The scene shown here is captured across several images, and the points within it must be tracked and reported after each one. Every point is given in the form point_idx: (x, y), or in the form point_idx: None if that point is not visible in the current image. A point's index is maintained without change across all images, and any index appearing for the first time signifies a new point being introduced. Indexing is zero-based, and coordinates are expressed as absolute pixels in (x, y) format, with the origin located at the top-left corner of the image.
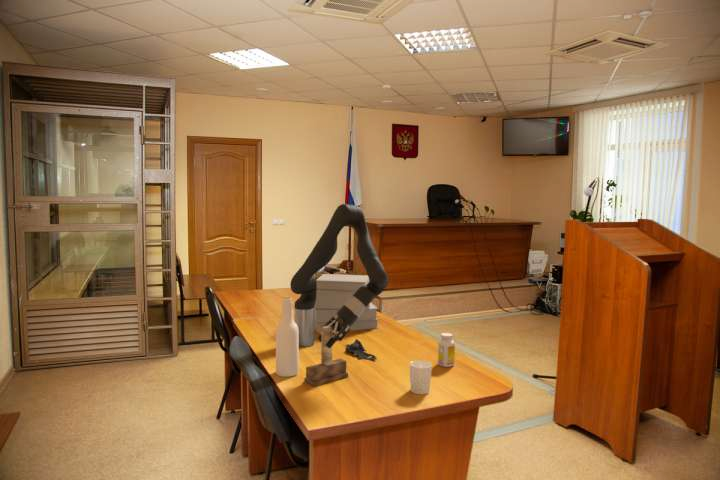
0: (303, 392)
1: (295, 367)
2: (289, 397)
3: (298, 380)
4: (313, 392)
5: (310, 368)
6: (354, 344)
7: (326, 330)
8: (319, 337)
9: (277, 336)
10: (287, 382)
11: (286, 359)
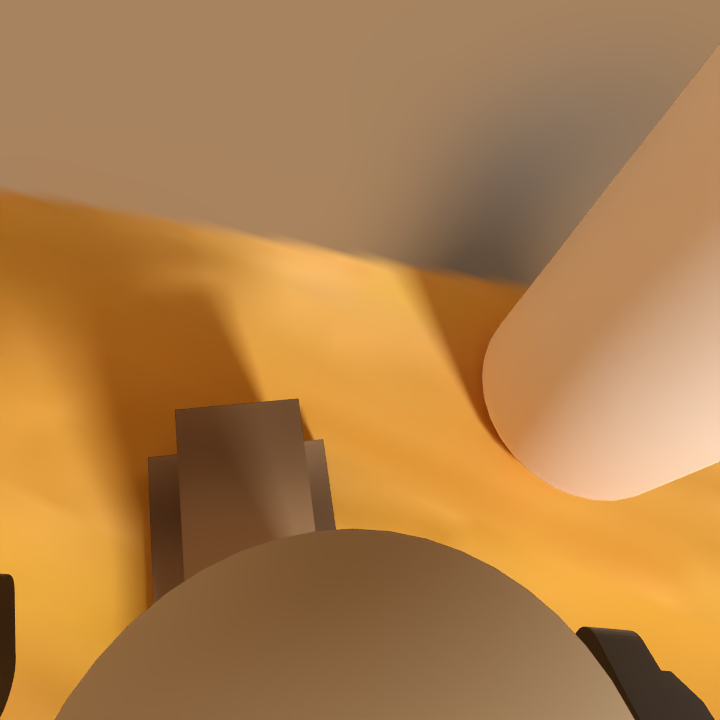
0: (85, 337)
1: (520, 407)
2: (65, 204)
3: (374, 417)
4: (23, 413)
5: (224, 424)
6: None
7: (77, 704)
8: (602, 663)
9: None
10: (375, 317)
11: (554, 262)
